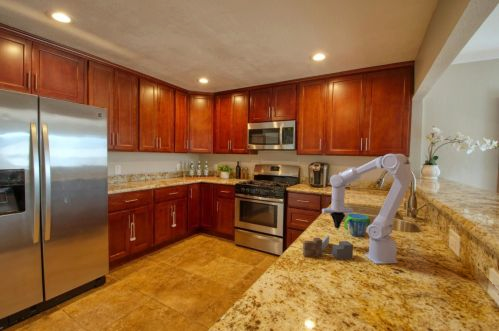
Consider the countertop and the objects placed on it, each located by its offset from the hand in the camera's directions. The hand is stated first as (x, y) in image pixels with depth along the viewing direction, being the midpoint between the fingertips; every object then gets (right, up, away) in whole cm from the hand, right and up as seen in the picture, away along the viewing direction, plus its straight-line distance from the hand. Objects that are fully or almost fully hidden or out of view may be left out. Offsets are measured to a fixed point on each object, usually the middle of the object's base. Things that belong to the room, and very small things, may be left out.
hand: (337, 227), depth 107 cm
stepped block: (-3, -9, -12) cm, 15 cm away
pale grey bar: (-8, -8, -3) cm, 12 cm away
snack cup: (+17, -8, +14) cm, 23 cm away
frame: (-9, -9, -10) cm, 16 cm away
